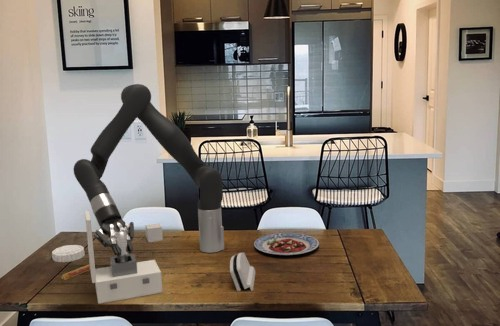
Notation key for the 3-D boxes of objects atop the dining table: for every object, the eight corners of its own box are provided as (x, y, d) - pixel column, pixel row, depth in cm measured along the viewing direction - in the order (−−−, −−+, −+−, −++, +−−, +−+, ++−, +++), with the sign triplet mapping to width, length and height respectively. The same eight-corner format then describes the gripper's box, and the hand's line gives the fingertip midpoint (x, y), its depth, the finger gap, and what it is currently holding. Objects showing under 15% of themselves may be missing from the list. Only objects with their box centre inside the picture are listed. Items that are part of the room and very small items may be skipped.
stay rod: (128, 264, 166) (125, 229, 164) (129, 267, 162) (127, 232, 160) (117, 265, 165) (114, 230, 162) (118, 269, 161) (115, 233, 159)
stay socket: (134, 265, 168) (133, 253, 168) (137, 273, 161) (136, 261, 161) (110, 268, 166) (109, 257, 165) (112, 277, 159) (112, 265, 158)
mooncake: (53, 254, 203) (52, 246, 202) (84, 250, 206) (83, 242, 206) (51, 264, 192) (50, 255, 191) (84, 260, 195) (84, 251, 195)
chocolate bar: (61, 279, 177) (60, 273, 177) (89, 268, 187) (88, 262, 187) (65, 281, 176) (65, 275, 176) (93, 269, 186) (93, 264, 185)
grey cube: (159, 236, 221) (159, 223, 220) (162, 240, 215) (161, 226, 214) (146, 238, 219) (145, 225, 218) (148, 242, 213) (147, 228, 212)
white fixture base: (155, 278, 174) (150, 203, 169) (162, 293, 162) (157, 212, 158) (91, 289, 167) (84, 210, 162) (94, 305, 155) (86, 220, 151)
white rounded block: (252, 291, 162) (241, 263, 161) (239, 295, 162) (227, 268, 161) (255, 271, 178) (245, 245, 177) (243, 275, 179) (232, 250, 178)
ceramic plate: (332, 249, 198) (332, 242, 198) (280, 264, 184) (280, 257, 184) (291, 233, 219) (291, 227, 219) (241, 246, 205) (241, 239, 205)
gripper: (87, 208, 161) (107, 253, 154) (127, 199, 170) (148, 242, 163) (82, 220, 166) (101, 265, 159) (121, 212, 175) (141, 254, 168)
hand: (125, 253), depth 161 cm, fingers closed on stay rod, 3 cm apart
